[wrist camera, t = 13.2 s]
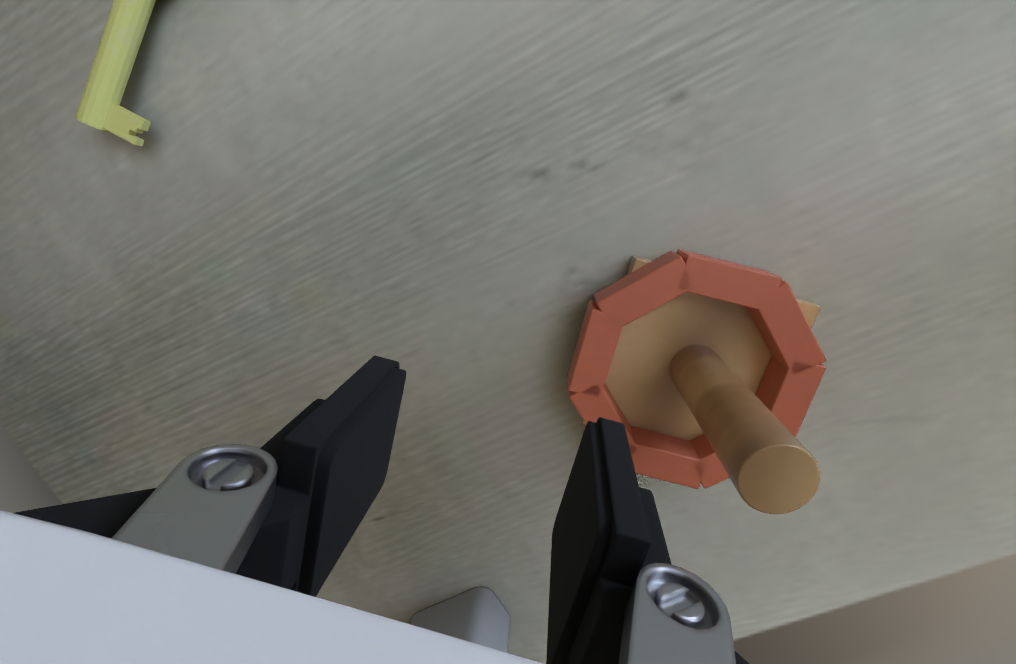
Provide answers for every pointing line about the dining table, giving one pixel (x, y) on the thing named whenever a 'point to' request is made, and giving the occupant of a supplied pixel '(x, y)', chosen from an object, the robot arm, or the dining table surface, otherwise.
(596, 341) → the ring
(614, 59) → the dining table surface
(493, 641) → the power adapter
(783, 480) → the peg stand
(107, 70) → the key
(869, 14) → the dining table surface
